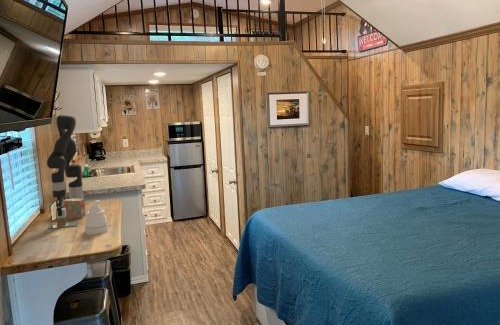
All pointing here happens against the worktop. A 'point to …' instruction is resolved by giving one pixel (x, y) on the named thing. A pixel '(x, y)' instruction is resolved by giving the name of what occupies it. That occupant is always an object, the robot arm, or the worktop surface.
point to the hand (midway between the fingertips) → (61, 214)
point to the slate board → (69, 224)
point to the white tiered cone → (96, 220)
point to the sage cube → (62, 213)
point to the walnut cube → (61, 221)
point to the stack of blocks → (74, 208)
